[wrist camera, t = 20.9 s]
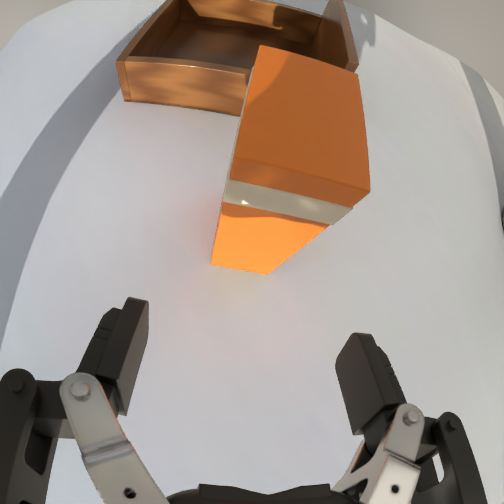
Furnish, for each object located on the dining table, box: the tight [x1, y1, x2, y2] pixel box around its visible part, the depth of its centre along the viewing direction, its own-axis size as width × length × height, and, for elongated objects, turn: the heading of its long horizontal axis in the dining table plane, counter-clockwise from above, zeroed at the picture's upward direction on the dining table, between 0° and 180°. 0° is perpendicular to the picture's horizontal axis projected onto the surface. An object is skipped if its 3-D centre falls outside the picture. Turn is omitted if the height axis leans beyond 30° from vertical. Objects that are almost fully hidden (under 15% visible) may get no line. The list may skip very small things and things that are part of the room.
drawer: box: [116, 0, 359, 117], centre depth 21 cm, size 18×16×9 cm
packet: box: [211, 45, 370, 274], centre depth 14 cm, size 4×6×13 cm
